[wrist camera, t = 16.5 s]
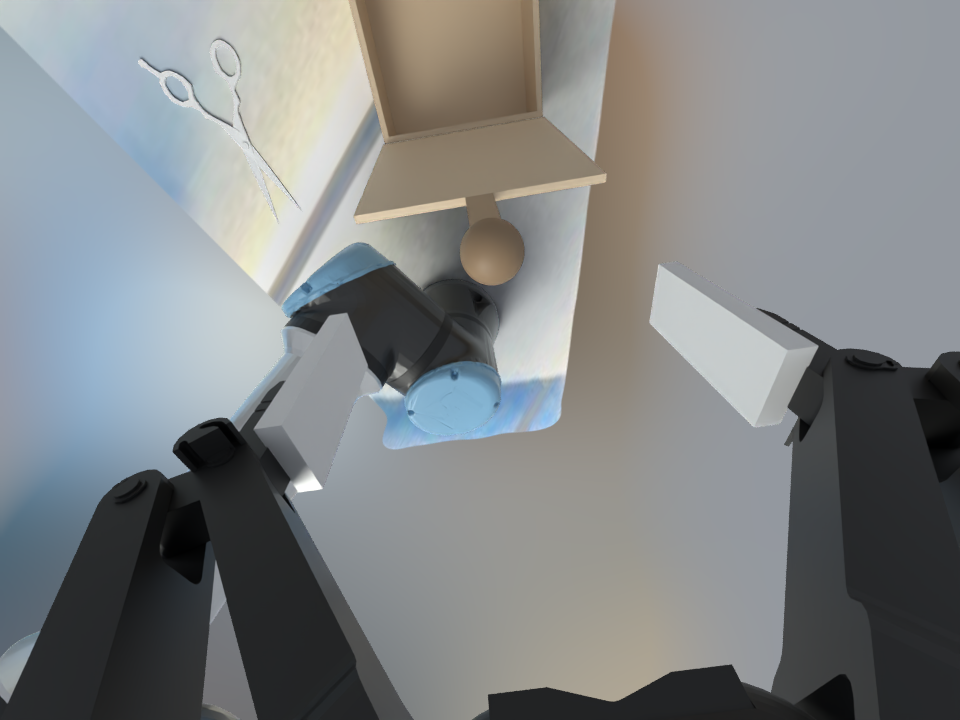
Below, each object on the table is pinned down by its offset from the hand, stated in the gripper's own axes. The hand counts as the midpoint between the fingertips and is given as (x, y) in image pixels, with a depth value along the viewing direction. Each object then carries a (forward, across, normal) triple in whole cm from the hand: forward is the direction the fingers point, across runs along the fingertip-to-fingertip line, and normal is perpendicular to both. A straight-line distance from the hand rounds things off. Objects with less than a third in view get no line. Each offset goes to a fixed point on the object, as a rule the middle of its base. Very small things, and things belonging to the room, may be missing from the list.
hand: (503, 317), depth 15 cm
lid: (+18, 0, -5) cm, 19 cm away
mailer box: (+40, 0, -17) cm, 44 cm away
